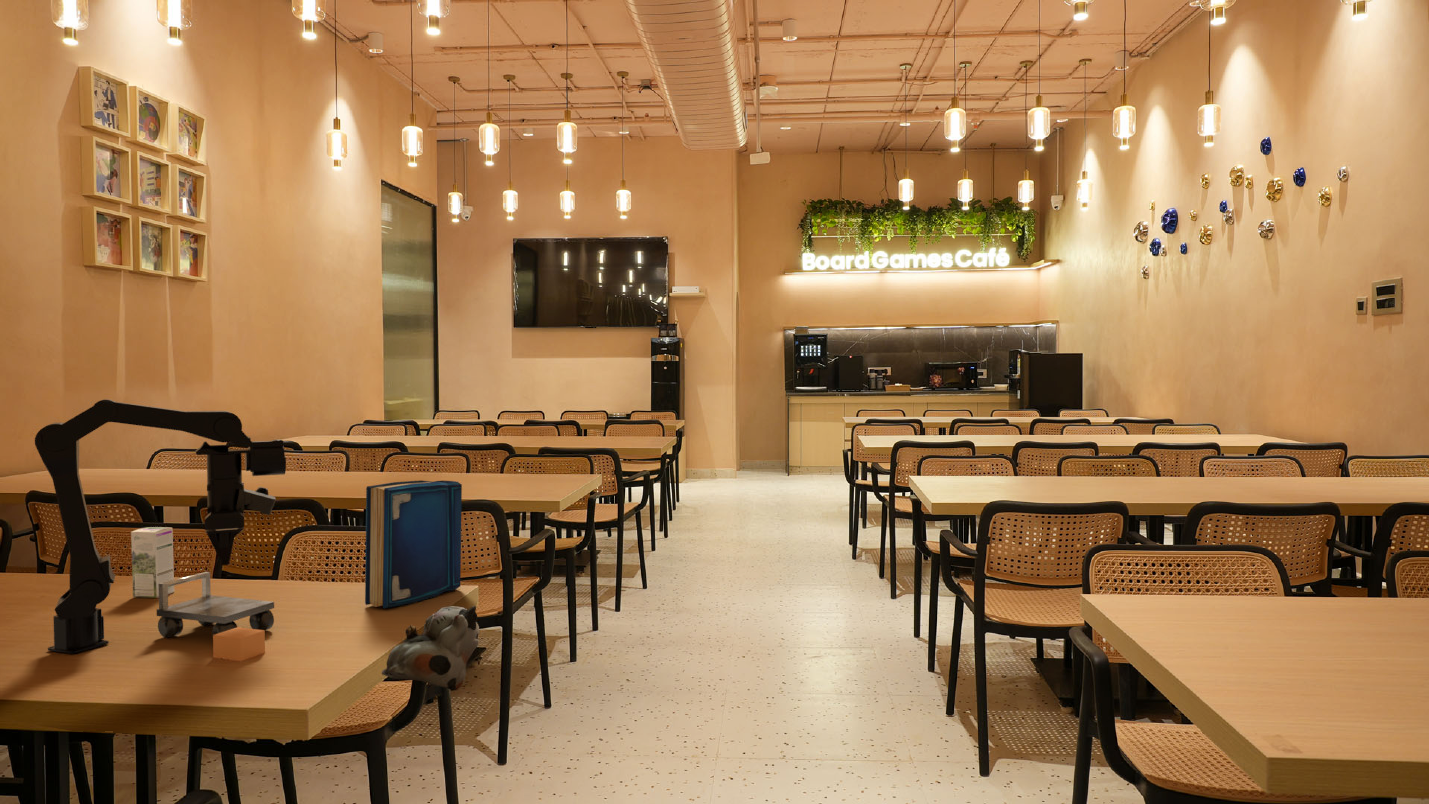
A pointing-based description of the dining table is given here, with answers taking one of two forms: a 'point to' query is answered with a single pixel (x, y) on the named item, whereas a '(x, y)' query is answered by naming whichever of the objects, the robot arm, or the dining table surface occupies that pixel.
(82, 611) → the robot arm
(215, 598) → the platform trolley
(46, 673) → the dining table surface
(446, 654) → the cat figurine
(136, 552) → the syrup box
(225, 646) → the orange rectangular carton
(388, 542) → the book
